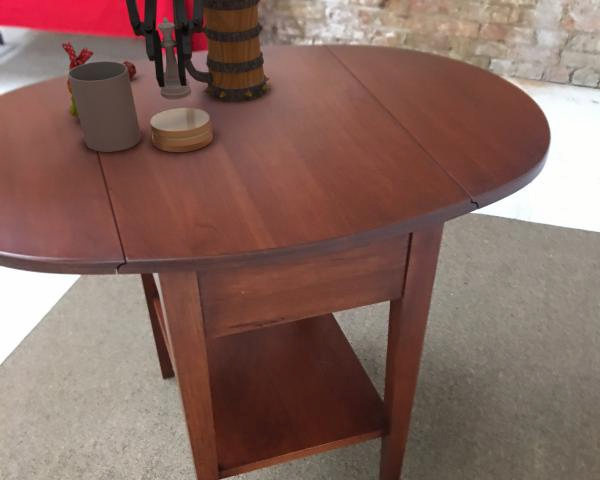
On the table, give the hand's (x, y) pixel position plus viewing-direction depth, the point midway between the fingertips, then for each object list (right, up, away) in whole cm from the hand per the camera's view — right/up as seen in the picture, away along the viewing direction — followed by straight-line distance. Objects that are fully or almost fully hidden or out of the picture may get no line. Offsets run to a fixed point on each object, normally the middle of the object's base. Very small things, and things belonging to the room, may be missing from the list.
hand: (171, 81), depth 88 cm
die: (-14, +15, +29) cm, 36 cm away
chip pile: (0, -4, +10) cm, 10 cm away
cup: (-11, -4, +10) cm, 15 cm away
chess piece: (0, 0, +5) cm, 5 cm away
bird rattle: (-18, +3, +18) cm, 26 cm away
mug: (+5, +10, +23) cm, 26 cm away
